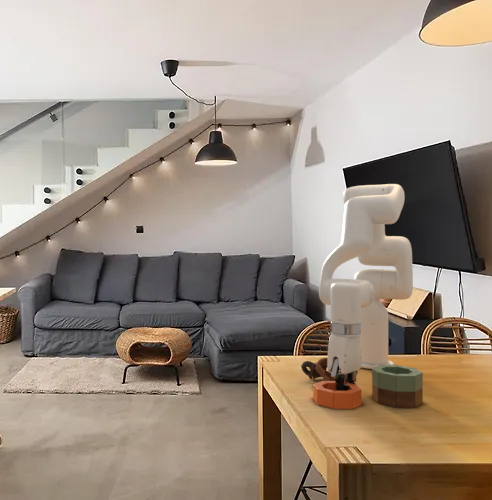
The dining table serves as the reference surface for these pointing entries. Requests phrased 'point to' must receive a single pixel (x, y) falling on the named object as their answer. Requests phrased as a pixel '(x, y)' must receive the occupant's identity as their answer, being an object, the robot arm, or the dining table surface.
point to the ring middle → (397, 378)
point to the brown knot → (317, 370)
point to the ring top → (337, 395)
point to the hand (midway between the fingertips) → (345, 397)
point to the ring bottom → (397, 397)
